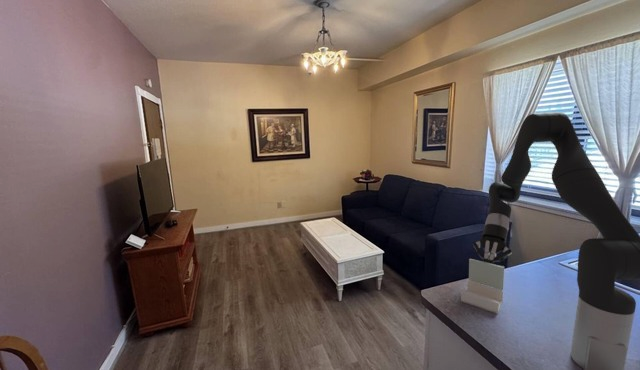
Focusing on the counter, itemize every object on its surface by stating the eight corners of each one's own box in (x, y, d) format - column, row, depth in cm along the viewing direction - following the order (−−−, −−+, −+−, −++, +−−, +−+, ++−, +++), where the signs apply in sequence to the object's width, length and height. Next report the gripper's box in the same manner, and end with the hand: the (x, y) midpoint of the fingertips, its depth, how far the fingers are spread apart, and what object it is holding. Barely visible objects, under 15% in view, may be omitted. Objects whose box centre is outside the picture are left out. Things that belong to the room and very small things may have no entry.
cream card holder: (502, 301, 92) (503, 290, 92) (497, 314, 86) (498, 303, 85) (467, 289, 100) (467, 280, 99) (460, 301, 93) (460, 290, 93)
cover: (502, 290, 92) (503, 289, 92) (503, 268, 89) (504, 266, 90) (468, 280, 99) (469, 279, 99) (469, 259, 96) (469, 258, 97)
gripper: (475, 220, 103) (464, 261, 97) (516, 226, 94) (508, 272, 88) (477, 228, 108) (468, 268, 101) (517, 235, 98) (509, 279, 92)
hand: (486, 270), depth 94 cm, fingers closed
